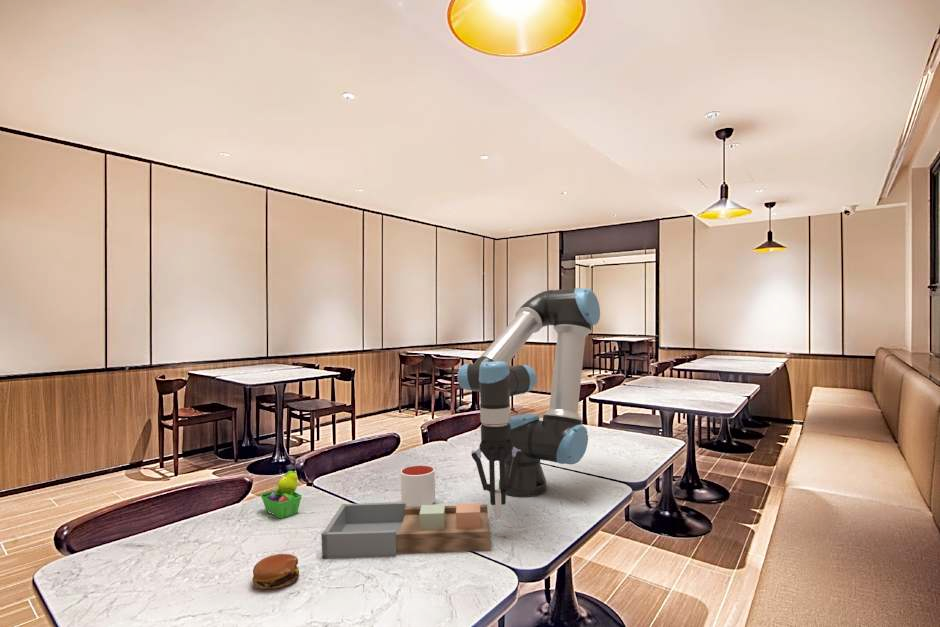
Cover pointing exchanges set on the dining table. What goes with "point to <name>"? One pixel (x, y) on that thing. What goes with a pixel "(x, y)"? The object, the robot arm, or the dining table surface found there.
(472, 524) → the tile
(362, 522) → the box
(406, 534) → the wooden tray
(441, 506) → the tile
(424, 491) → the cup
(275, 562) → the burger
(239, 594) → the dining table surface
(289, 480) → the fruit basket
